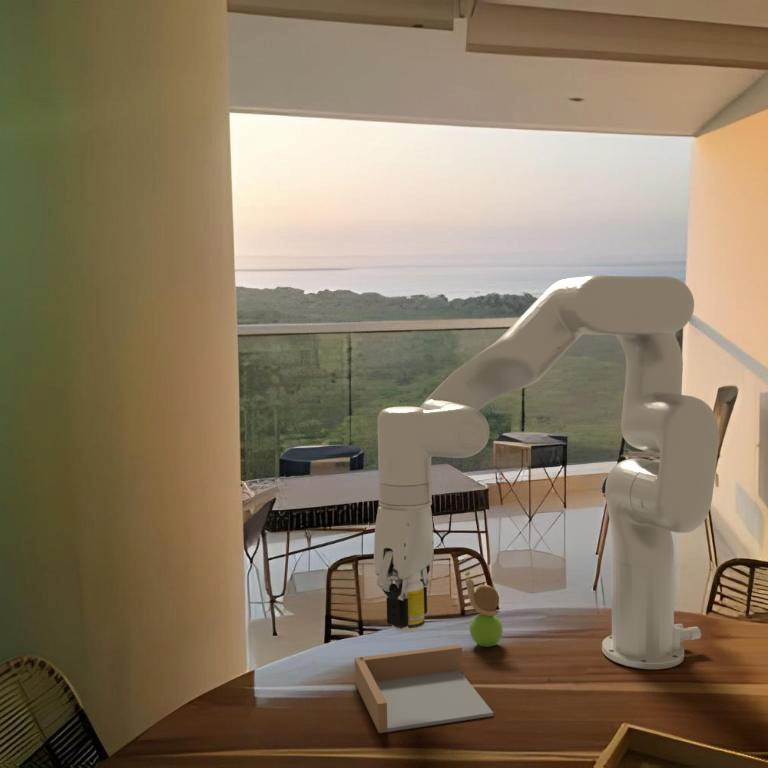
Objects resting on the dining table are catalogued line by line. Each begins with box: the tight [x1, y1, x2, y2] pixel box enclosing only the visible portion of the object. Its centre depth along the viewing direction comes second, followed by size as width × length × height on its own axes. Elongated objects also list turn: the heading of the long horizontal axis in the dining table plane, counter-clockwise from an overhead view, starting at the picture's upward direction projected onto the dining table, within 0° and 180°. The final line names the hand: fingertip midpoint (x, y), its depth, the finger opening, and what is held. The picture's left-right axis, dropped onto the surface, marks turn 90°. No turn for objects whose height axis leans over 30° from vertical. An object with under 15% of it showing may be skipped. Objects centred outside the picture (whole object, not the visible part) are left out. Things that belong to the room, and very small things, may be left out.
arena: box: [354, 644, 494, 734], centre depth 114 cm, size 17×15×4 cm
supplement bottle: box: [391, 570, 426, 633], centre depth 114 cm, size 5×5×8 cm
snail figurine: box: [464, 571, 503, 648], centre depth 132 cm, size 5×6×12 cm
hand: (407, 617), depth 114 cm, fingers closed on supplement bottle, 4 cm apart
